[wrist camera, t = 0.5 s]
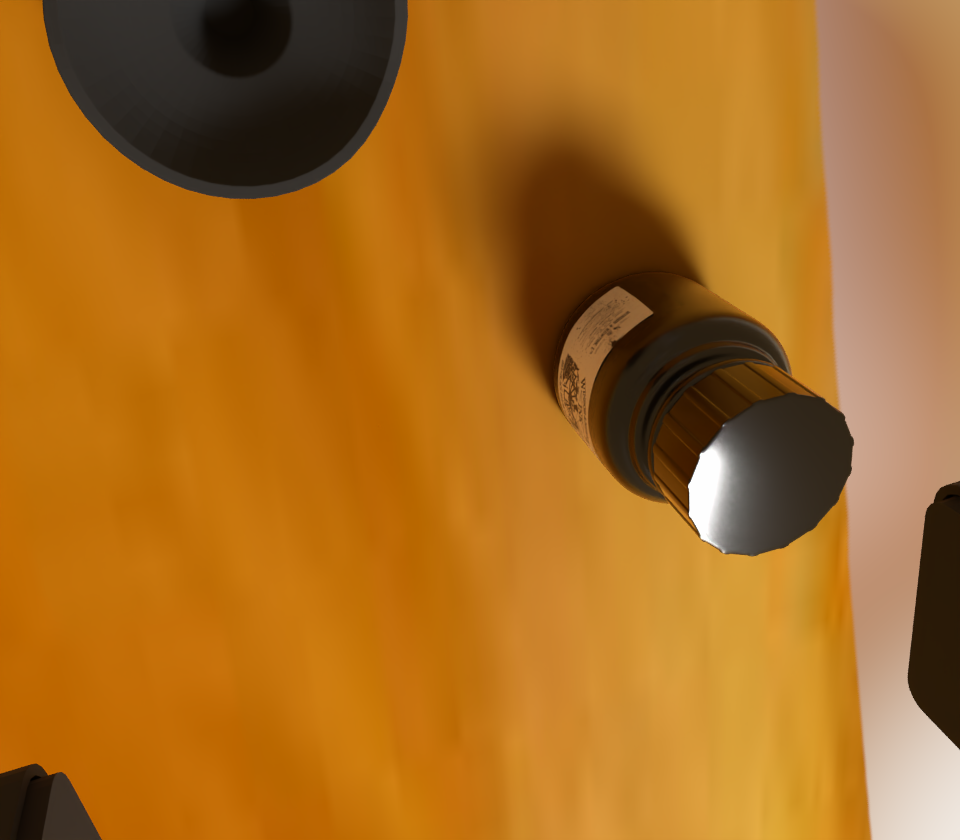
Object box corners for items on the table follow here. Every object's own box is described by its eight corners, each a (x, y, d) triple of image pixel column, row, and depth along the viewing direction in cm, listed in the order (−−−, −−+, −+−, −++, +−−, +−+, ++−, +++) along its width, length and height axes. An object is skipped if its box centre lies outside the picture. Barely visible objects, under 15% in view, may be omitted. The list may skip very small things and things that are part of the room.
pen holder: (401, 66, 35) (466, 97, 26) (189, 187, 35) (184, 258, 26) (270, -201, 30) (295, -272, 21) (23, -63, 30) (-51, -79, 21)
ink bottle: (549, 269, 40) (670, 371, 30) (728, 249, 42) (900, 338, 32) (548, 460, 44) (652, 607, 34) (710, 433, 46) (856, 566, 36)
